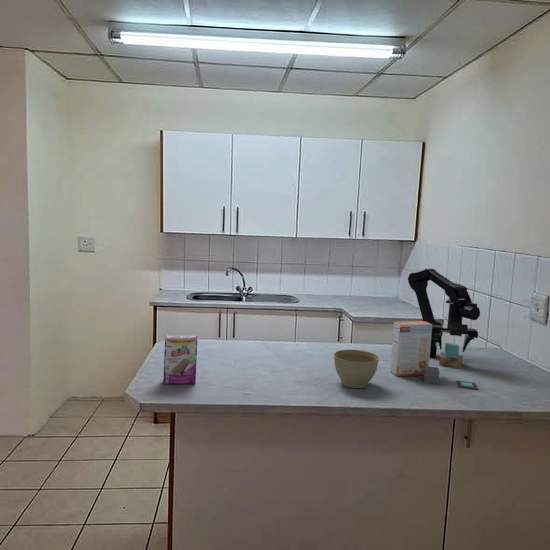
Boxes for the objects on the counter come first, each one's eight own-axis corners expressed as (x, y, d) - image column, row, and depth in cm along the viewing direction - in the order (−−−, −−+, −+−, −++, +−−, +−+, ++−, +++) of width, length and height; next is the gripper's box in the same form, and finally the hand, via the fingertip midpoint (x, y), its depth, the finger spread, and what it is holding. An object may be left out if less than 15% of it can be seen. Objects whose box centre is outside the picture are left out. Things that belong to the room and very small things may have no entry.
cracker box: (420, 371, 203) (425, 320, 200) (428, 375, 197) (433, 324, 195) (389, 371, 200) (393, 320, 197) (396, 376, 194) (400, 324, 191)
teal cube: (445, 357, 212) (446, 345, 212) (444, 354, 217) (445, 342, 217) (457, 358, 211) (459, 347, 211) (456, 355, 216) (457, 344, 216)
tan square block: (439, 366, 212) (439, 357, 212) (440, 361, 221) (440, 352, 220) (461, 369, 209) (462, 360, 209) (461, 364, 217) (462, 355, 217)
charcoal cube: (424, 382, 189) (425, 369, 188) (423, 378, 194) (424, 366, 193) (438, 384, 188) (439, 371, 187) (437, 380, 193) (438, 367, 192)
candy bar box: (163, 385, 171) (164, 338, 169) (163, 380, 176) (164, 335, 174) (196, 384, 173) (197, 338, 171) (195, 379, 178) (196, 334, 176)
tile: (458, 387, 185) (458, 386, 185) (455, 381, 192) (455, 380, 192) (478, 389, 184) (478, 388, 184) (475, 383, 191) (475, 382, 191)
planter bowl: (340, 374, 193) (342, 346, 192) (381, 382, 186) (384, 354, 185) (325, 385, 179) (327, 356, 178) (368, 395, 172) (371, 364, 171)
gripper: (434, 316, 206) (430, 353, 208) (482, 321, 202) (478, 358, 204) (432, 311, 217) (428, 346, 219) (477, 316, 213) (473, 351, 215)
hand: (451, 350), depth 214 cm, fingers open, 9 cm apart
